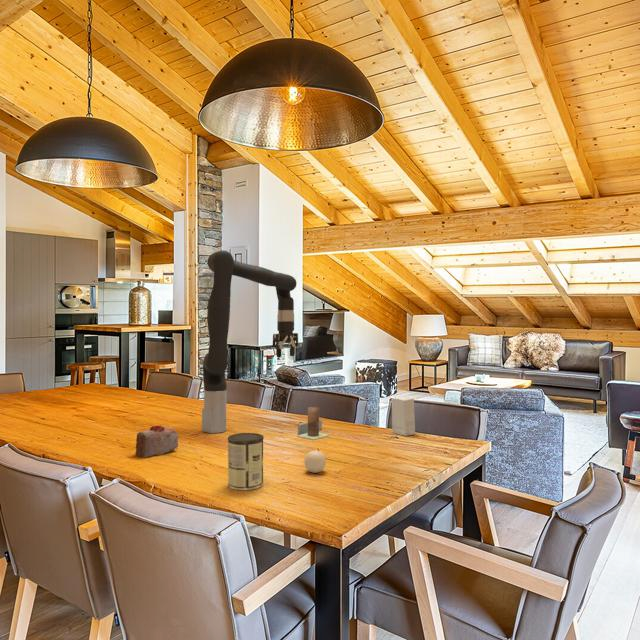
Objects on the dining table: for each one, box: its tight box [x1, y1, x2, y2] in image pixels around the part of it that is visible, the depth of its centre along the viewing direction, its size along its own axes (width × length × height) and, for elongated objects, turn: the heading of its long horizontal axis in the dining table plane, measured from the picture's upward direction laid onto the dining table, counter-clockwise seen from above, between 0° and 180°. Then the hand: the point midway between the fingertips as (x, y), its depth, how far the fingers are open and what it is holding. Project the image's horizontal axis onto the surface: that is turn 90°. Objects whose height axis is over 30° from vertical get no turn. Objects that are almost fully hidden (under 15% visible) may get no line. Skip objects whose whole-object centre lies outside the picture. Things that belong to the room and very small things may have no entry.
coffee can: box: [227, 432, 264, 491], centre depth 157 cm, size 10×10×14 cm
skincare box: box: [391, 396, 416, 437], centre depth 225 cm, size 8×6×15 cm
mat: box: [296, 432, 331, 441], centre depth 220 cm, size 10×9×1 cm
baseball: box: [303, 450, 327, 474], centre depth 171 cm, size 7×7×7 cm
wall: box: [297, 419, 323, 435], centre depth 227 cm, size 14×1×4 cm, turn 140°
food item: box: [135, 425, 179, 459], centre depth 192 cm, size 14×8×10 cm, turn 141°
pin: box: [307, 406, 320, 436], centre depth 220 cm, size 5×5×11 cm
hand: (285, 356), depth 243 cm, fingers open, 8 cm apart
